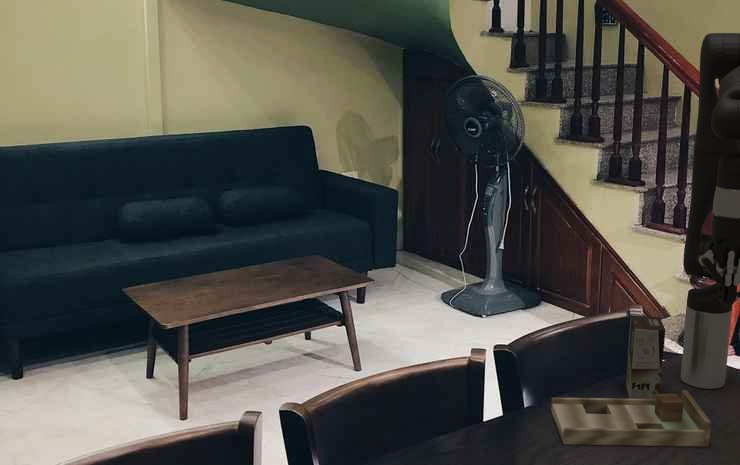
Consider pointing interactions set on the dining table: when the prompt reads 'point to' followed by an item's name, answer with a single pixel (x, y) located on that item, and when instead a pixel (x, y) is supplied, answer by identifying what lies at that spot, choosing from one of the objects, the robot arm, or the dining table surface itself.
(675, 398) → the walnut block
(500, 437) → the dining table surface
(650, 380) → the coffee box
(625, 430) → the tray
